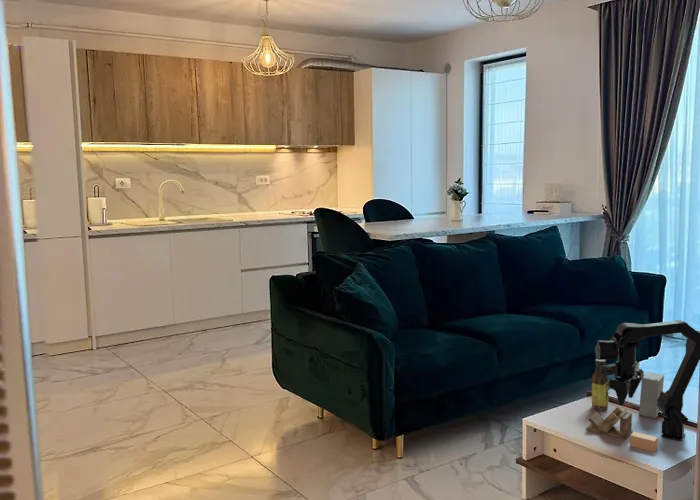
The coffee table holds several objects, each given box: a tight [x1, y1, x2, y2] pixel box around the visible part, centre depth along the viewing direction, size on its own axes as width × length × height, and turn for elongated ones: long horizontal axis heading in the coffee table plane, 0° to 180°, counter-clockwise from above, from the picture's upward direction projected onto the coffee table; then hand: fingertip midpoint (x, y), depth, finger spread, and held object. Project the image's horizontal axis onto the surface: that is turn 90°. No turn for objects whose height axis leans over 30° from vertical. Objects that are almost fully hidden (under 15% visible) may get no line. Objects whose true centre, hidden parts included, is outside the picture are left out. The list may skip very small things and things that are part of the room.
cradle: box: [585, 406, 634, 440], centre depth 234 cm, size 14×8×9 cm, turn 50°
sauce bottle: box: [591, 358, 610, 411], centre depth 255 cm, size 6×6×20 cm
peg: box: [629, 431, 659, 453], centre depth 220 cm, size 8×4×4 cm, turn 51°
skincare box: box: [638, 371, 665, 419], centre depth 248 cm, size 8×7×16 cm
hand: (626, 401), depth 228 cm, fingers open, 9 cm apart
